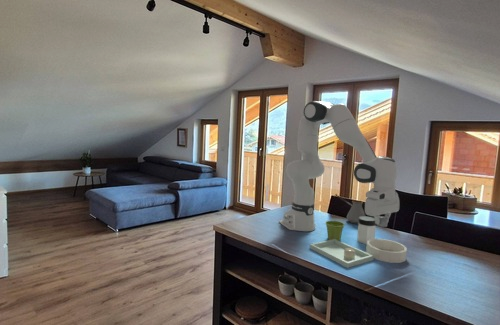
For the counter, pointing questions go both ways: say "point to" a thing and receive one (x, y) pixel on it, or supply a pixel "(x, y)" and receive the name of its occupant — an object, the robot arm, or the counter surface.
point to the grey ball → (383, 221)
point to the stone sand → (349, 254)
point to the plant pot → (334, 229)
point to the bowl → (386, 250)
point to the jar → (366, 229)
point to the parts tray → (340, 252)
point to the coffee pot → (354, 211)
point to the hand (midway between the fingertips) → (381, 223)
